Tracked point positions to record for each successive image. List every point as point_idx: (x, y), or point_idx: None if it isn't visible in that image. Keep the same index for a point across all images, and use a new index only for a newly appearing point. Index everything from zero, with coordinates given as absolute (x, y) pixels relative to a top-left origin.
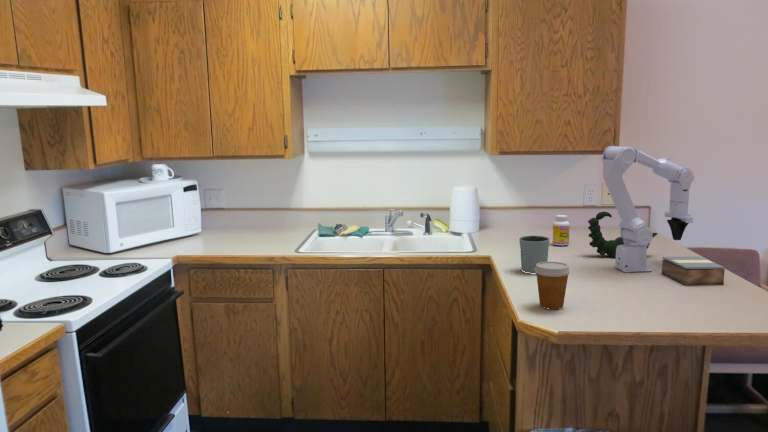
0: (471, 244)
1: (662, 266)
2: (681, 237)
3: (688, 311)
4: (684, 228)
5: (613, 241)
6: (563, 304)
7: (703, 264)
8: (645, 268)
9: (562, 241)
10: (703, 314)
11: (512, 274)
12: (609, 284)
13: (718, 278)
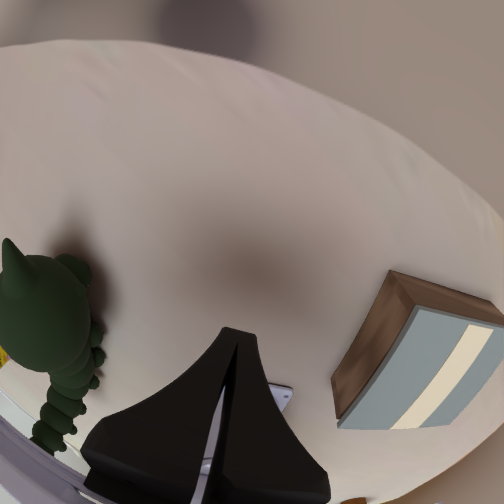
0: (35, 420)
1: (334, 399)
2: (257, 347)
3: (472, 428)
4: (282, 423)
5: (64, 383)
6: (364, 500)
7: (475, 373)
8: (275, 398)
9: (6, 356)
10: (487, 419)
11: None
12: (327, 468)
13: None
